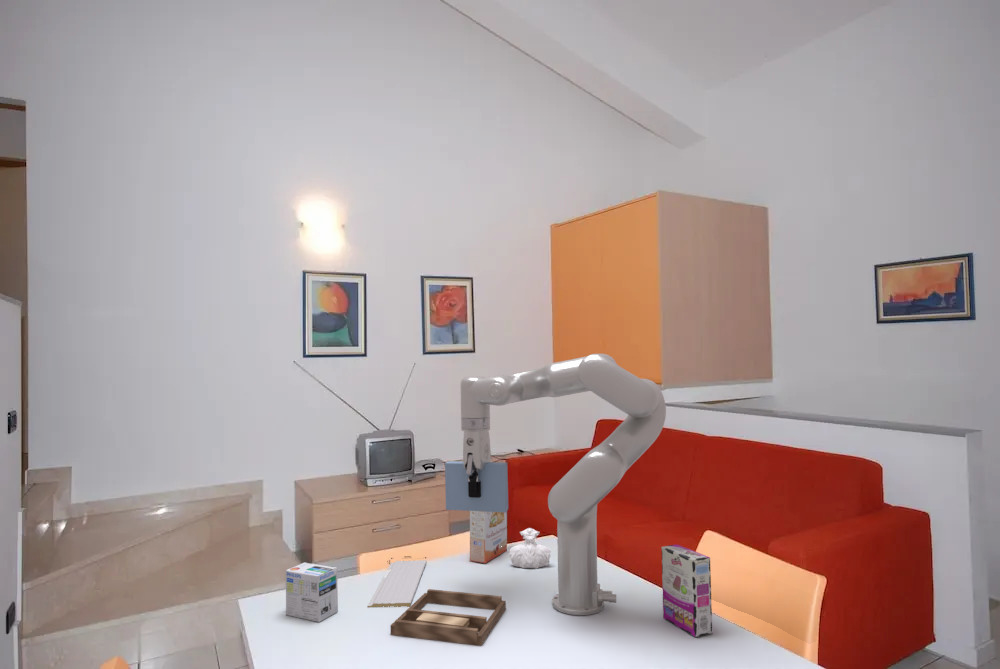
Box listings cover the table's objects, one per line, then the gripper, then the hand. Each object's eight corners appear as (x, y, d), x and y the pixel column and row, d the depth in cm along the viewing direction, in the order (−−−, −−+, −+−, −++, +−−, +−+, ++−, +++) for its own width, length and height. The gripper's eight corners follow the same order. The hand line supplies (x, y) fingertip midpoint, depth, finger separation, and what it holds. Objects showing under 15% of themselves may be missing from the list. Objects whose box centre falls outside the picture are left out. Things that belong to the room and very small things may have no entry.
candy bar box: (714, 634, 130) (711, 557, 130) (695, 638, 128) (693, 560, 128) (679, 614, 140) (677, 542, 141) (662, 618, 138) (660, 545, 139)
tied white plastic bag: (551, 572, 175) (549, 534, 182) (551, 563, 169) (549, 524, 176) (509, 572, 175) (510, 534, 183) (508, 563, 170) (509, 524, 177)
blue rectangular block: (508, 509, 155) (507, 462, 155) (505, 512, 152) (504, 464, 152) (449, 506, 159) (448, 461, 159) (445, 509, 156) (445, 463, 156)
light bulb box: (339, 612, 145) (338, 566, 145) (319, 623, 139) (319, 575, 139) (304, 605, 149) (304, 561, 150) (284, 615, 143) (284, 569, 143)
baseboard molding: (361, 610, 147) (410, 609, 147) (361, 597, 147) (410, 597, 147) (386, 566, 178) (426, 565, 178) (386, 556, 178) (426, 555, 178)
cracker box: (486, 564, 176) (485, 492, 177) (469, 561, 179) (468, 490, 180) (508, 550, 188) (507, 483, 189) (491, 548, 191) (490, 482, 192)
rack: (505, 609, 144) (505, 596, 144) (481, 645, 126) (481, 631, 126) (425, 600, 150) (425, 588, 150) (390, 634, 132) (390, 620, 132)
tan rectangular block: (470, 633, 133) (469, 618, 133) (463, 642, 129) (462, 626, 129) (421, 626, 136) (420, 612, 137) (412, 634, 133) (412, 619, 133)
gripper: (480, 428, 147) (481, 503, 147) (497, 421, 163) (499, 489, 162) (451, 427, 149) (452, 502, 149) (471, 420, 165) (472, 488, 164)
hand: (476, 494), depth 155 cm, fingers closed on blue rectangular block, 3 cm apart
